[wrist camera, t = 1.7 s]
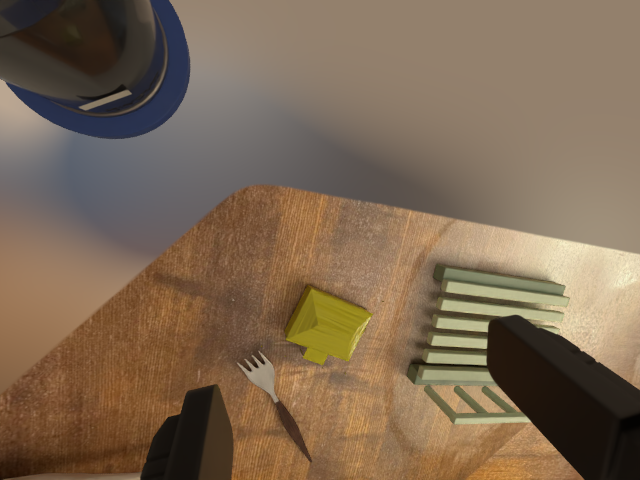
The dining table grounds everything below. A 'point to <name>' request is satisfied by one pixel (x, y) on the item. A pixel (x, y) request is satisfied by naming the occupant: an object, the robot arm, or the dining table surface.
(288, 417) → the fork
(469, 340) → the slatted bed frame
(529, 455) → the dining table surface
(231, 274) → the dining table surface
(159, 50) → the robot arm
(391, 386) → the dining table surface
